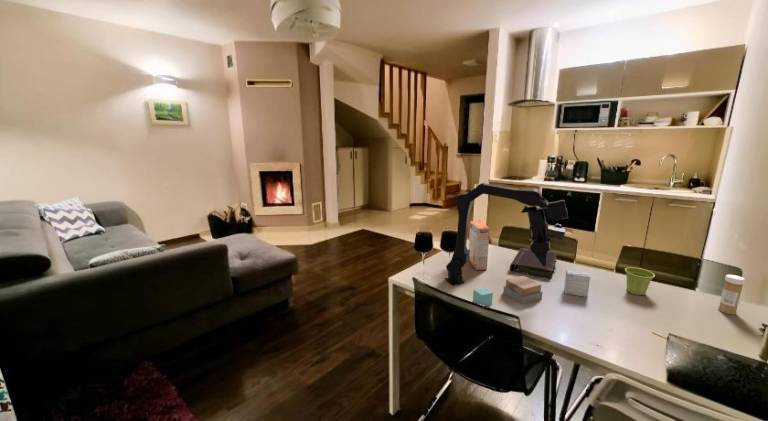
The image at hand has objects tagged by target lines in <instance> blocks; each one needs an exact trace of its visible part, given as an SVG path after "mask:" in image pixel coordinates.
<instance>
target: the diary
mask: <svg viewBox="0 0 768 421" xmlns="http://www.w3.org/2000/svg"><path fill="white" fill-rule="evenodd" d="M557 256H558V252H556V251H555V252H554V251H551V250H550V251H548V252H547V257H546V266H543V265H542V264H541V263H540V261H539V260H538V258H537V257H536V256H535V254H534V253H533V252H532V251H531V249H530V248H525V247H520V248H519V251H518V252H517V254H516V255H515V256H514V258H513V260H512V262H511V263H510V264H509V272H512V271H513V270H514V272H515V271H516V270H517V271H516V272H517V273H522V274H525V275H528V274H529V275H528V276H532V277H538V278H543V279H549V280H550V279H552V278H553V275H554V272H555V271H556V263H557V260H556V258H557ZM512 269H513V270H512ZM554 270H555V271H554Z"/></svg>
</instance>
